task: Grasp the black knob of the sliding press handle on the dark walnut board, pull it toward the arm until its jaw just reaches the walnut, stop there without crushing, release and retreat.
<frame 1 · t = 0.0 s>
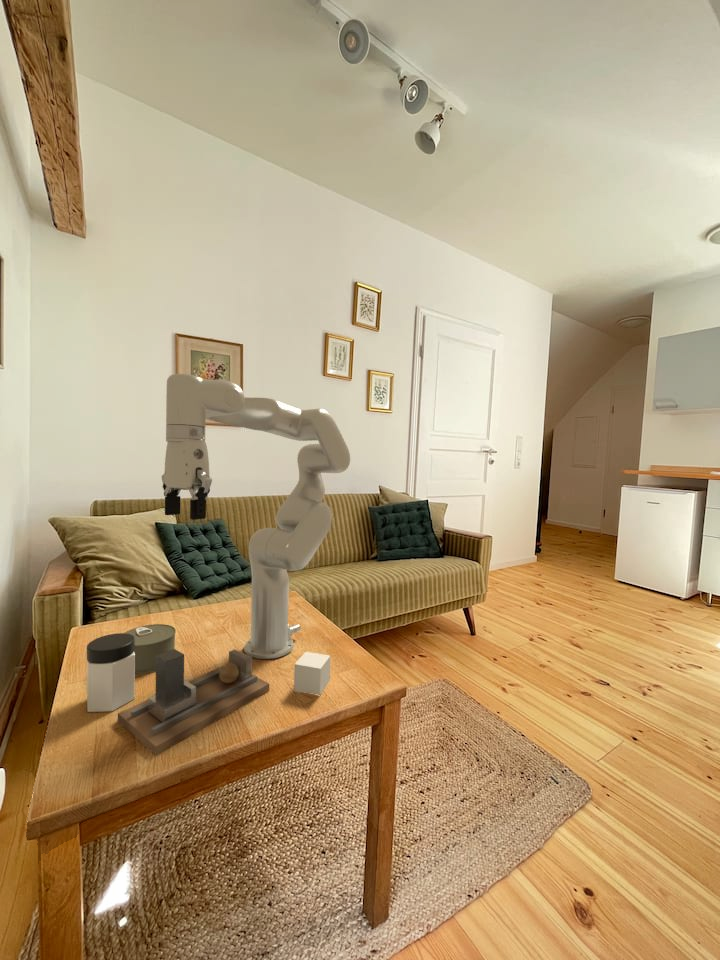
hand: (184, 516, 82), 37 cm above the table, tool pointing down, fingers open, 9 cm apart
white cube: (312, 687, 86), on the table
jar: (110, 701, 79), on the table
handle: (172, 681, 73), point 7 cm above the table, slide at 0.0 cm
can: (147, 662, 94), on the table
board: (198, 704, 78), on the table
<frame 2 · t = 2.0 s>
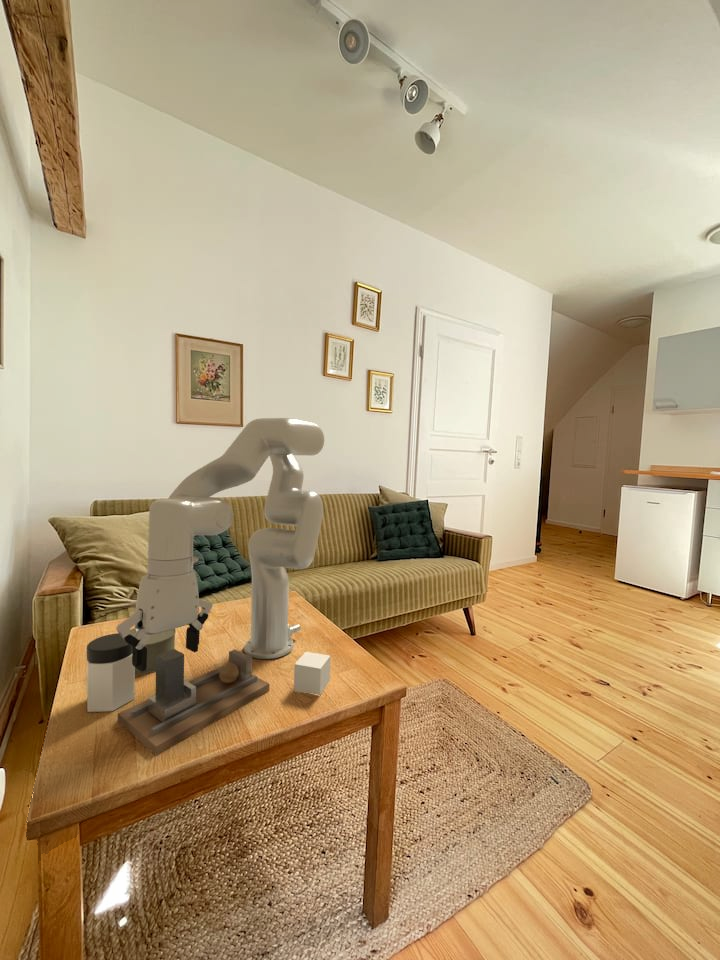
hand: (167, 658, 72), 12 cm above the table, tool pointing down, fingers open, 9 cm apart
nothing on the table moved.
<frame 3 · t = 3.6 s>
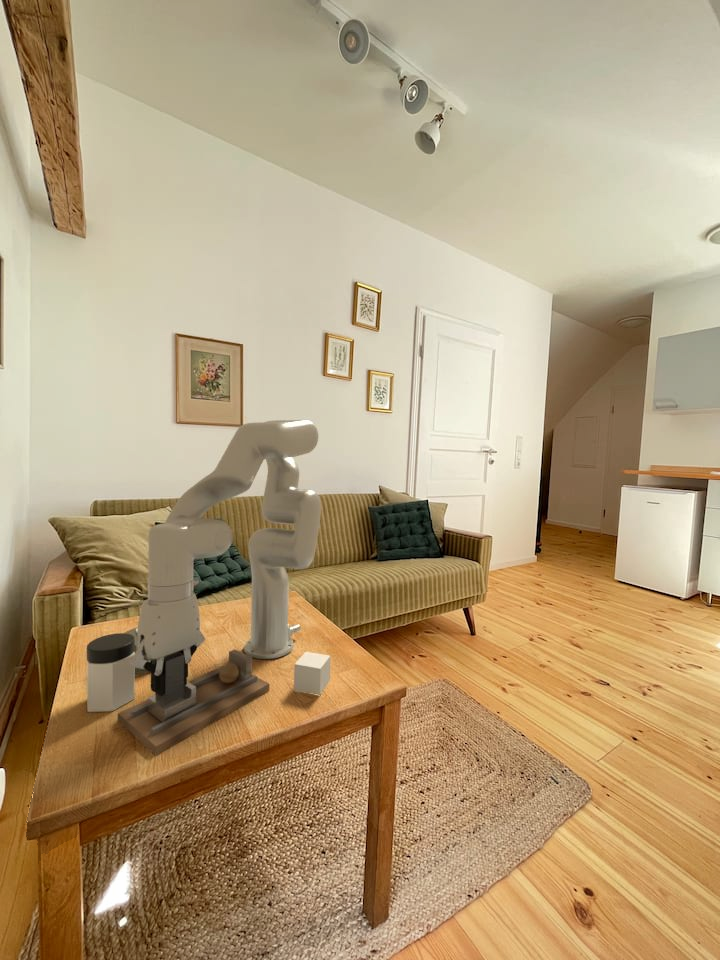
hand: (169, 687, 73), 6 cm above the table, tool pointing down, fingers closed on handle, 3 cm apart
handle: (172, 681, 73), point 7 cm above the table, slide at 0.0 cm, touching gripper
everything else where it was.
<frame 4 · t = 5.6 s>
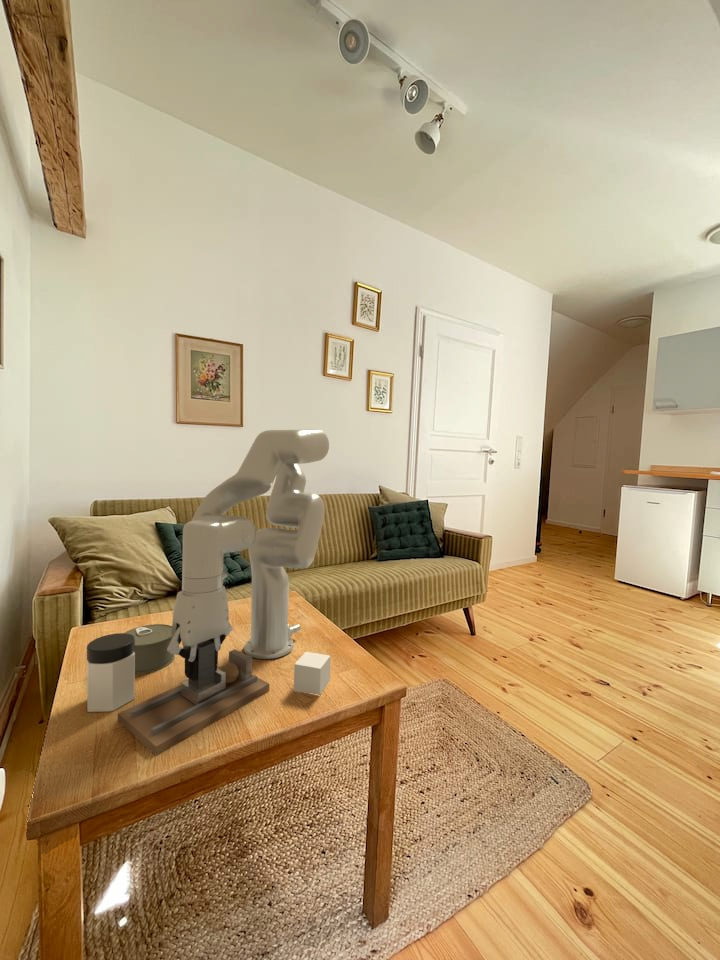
hand: (201, 672, 78), 6 cm above the table, tool pointing down, fingers closed on handle, 3 cm apart
handle: (203, 668, 79), point 7 cm above the table, slide at 6.5 cm, touching gripper
everything else where it was.
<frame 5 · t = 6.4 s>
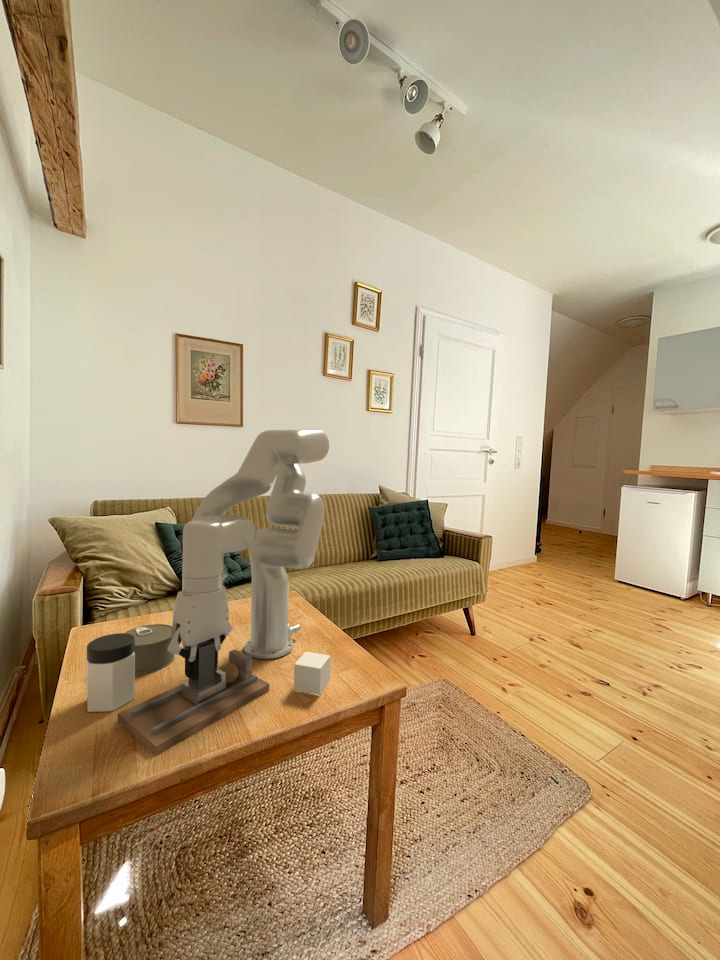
hand: (201, 672, 78), 6 cm above the table, tool pointing down, fingers closed on handle, 3 cm apart
handle: (203, 667, 79), point 7 cm above the table, slide at 6.5 cm, touching gripper
everything else where it was.
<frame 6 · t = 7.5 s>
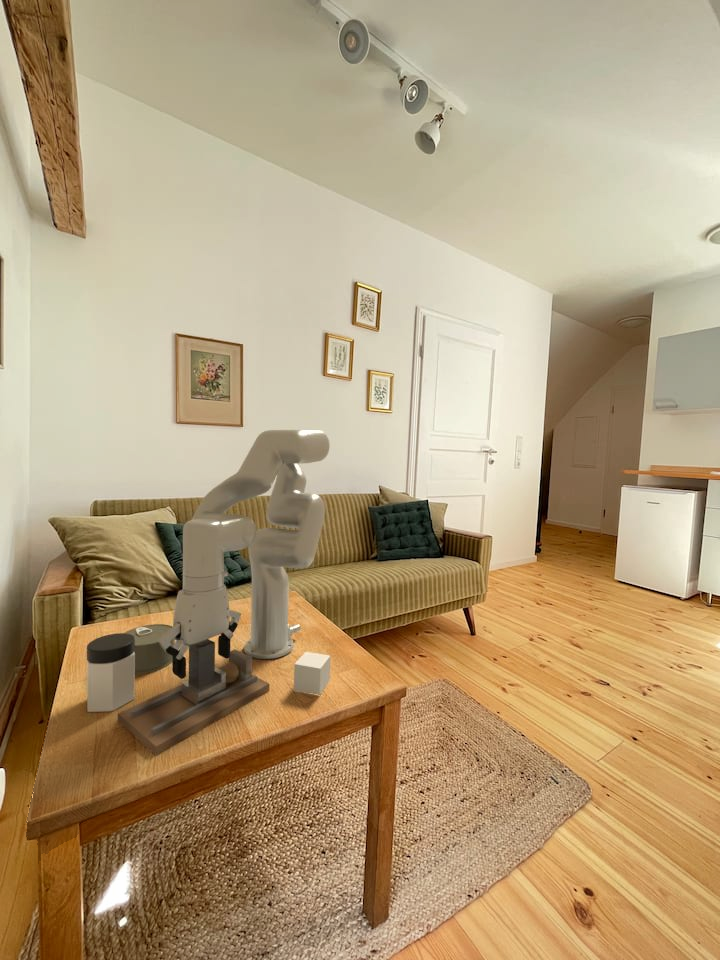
hand: (202, 665, 78), 8 cm above the table, tool pointing down, fingers open, 9 cm apart
handle: (203, 667, 79), point 7 cm above the table, slide at 6.5 cm
everything else where it was.
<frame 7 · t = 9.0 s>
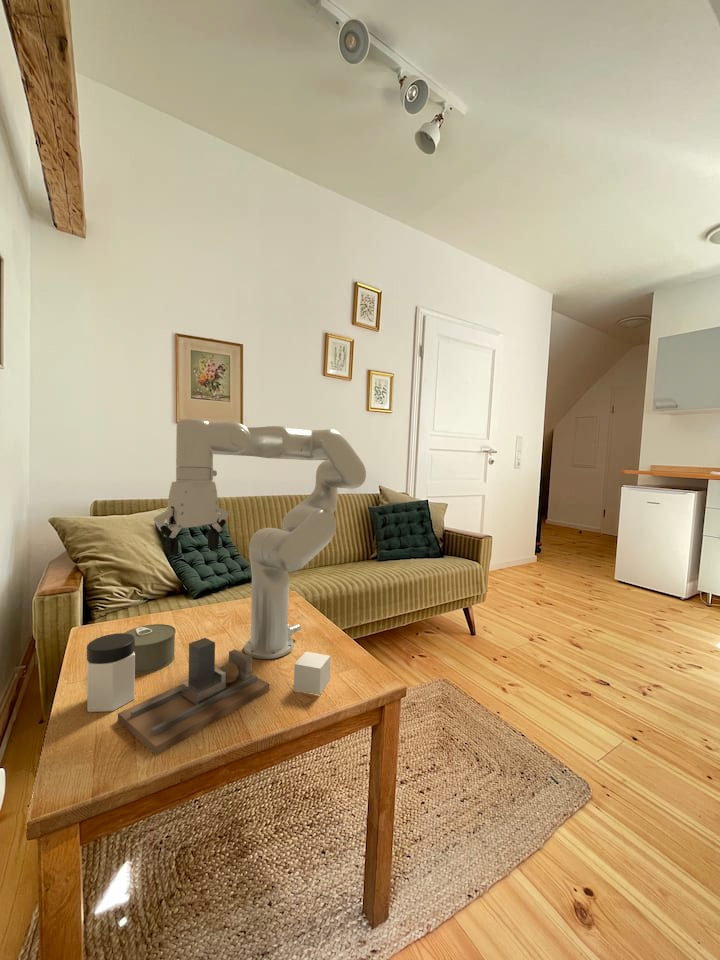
hand: (193, 551, 88), 28 cm above the table, tool pointing down, fingers open, 9 cm apart
nothing on the table moved.
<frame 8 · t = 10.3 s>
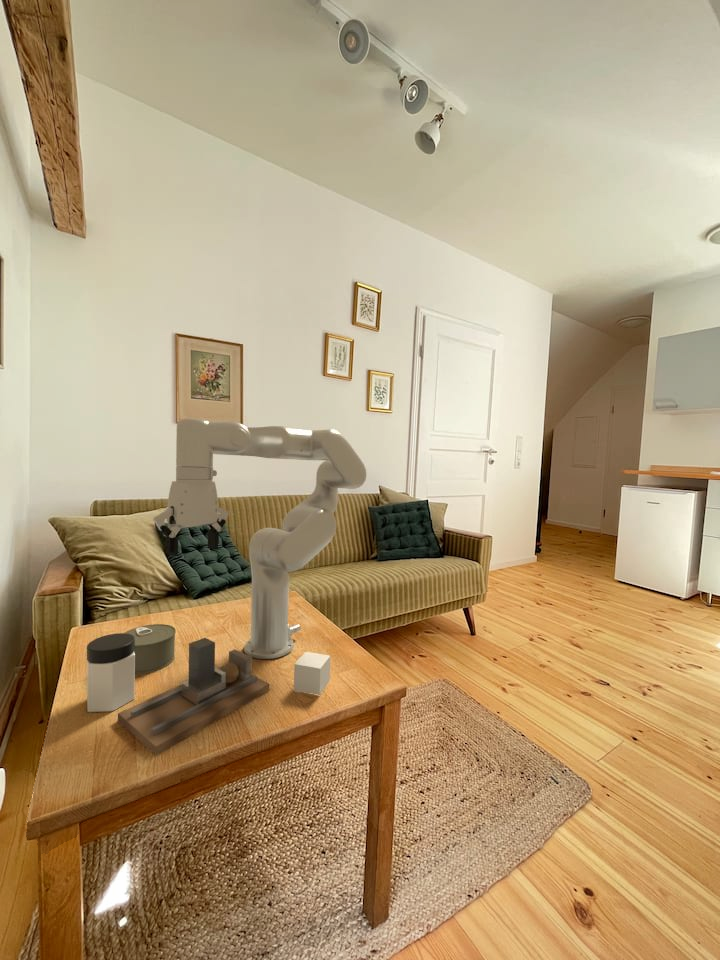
hand: (193, 551, 88), 28 cm above the table, tool pointing down, fingers open, 9 cm apart
nothing on the table moved.
at the end: handle slide at 6.5 cm; the gripper is holding nothing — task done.
